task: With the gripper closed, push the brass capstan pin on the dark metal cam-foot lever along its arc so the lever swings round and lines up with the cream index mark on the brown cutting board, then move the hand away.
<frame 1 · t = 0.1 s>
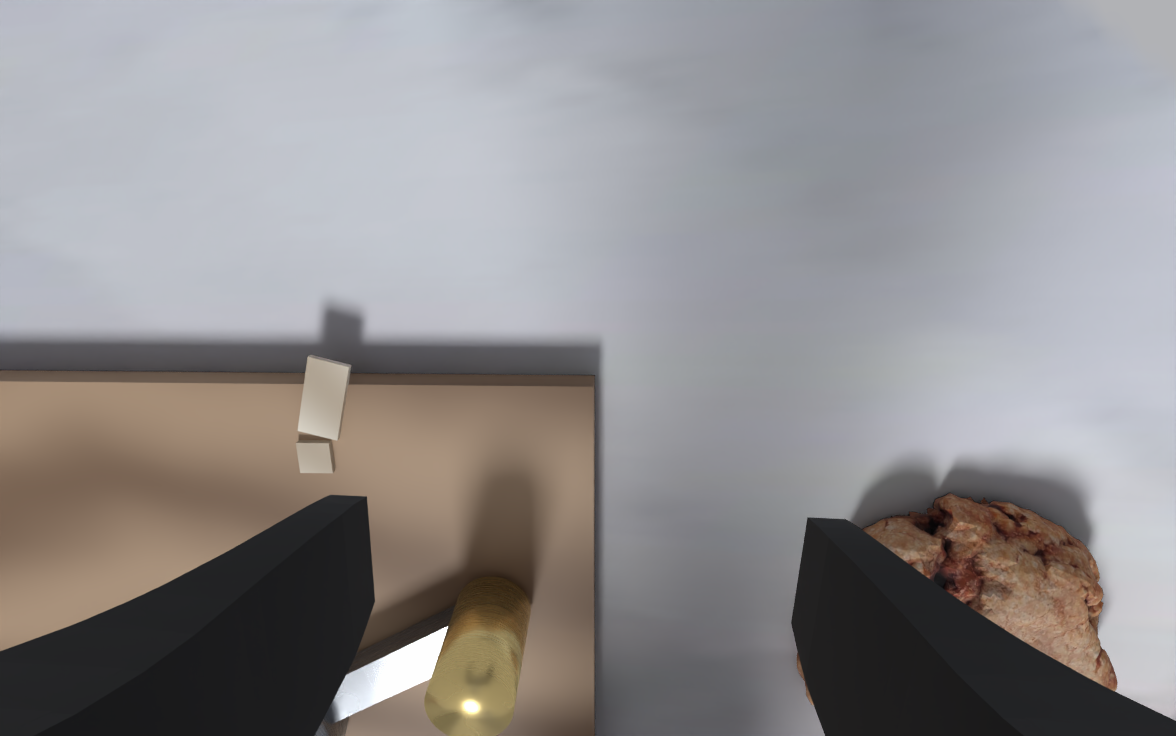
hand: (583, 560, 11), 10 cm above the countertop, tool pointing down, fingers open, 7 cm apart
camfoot: (342, 717, 21), point 3 cm above the countertop, hinge at -45.0°
brown cutting board: (292, 683, 25), on the countertop
cookie: (941, 618, 24), on the countertop
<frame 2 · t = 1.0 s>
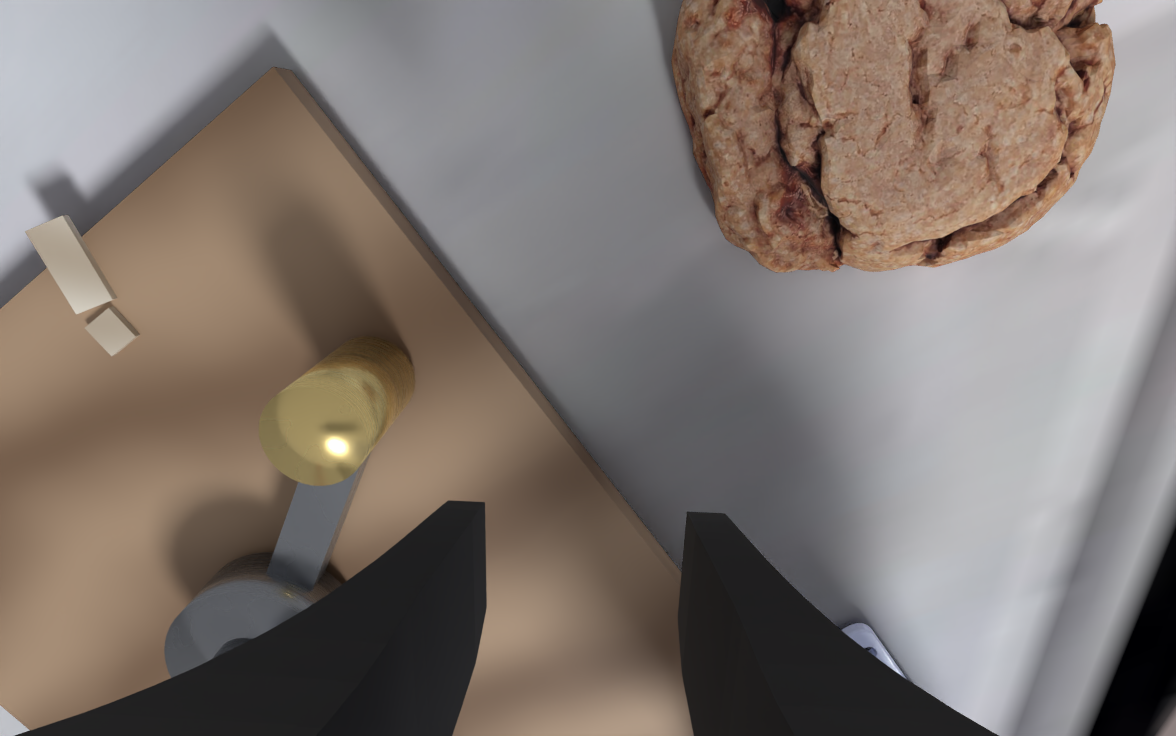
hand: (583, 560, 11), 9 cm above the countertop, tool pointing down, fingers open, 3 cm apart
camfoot: (287, 563, 19), point 3 cm above the countertop, hinge at -45.0°
brown cutting board: (299, 594, 23), on the countertop
cookie: (868, 84, 18), on the countertop
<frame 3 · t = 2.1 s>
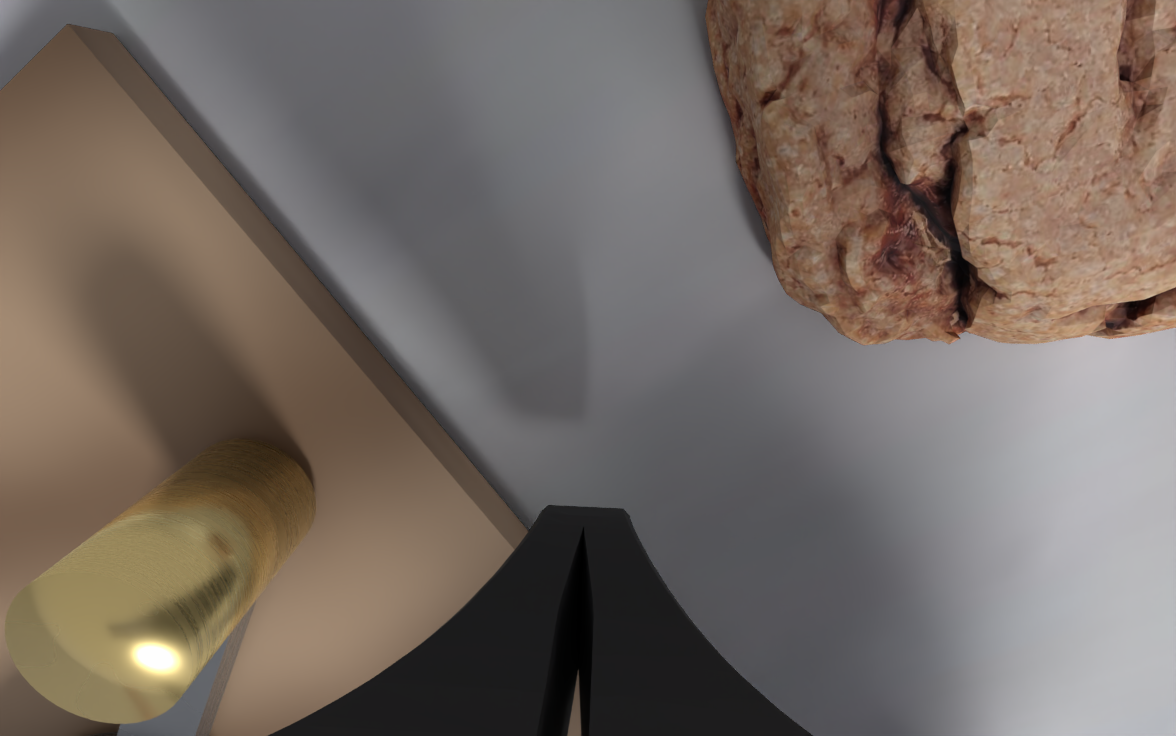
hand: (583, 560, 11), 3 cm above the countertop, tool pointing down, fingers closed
cookie: (1007, 55, 12), on the countertop
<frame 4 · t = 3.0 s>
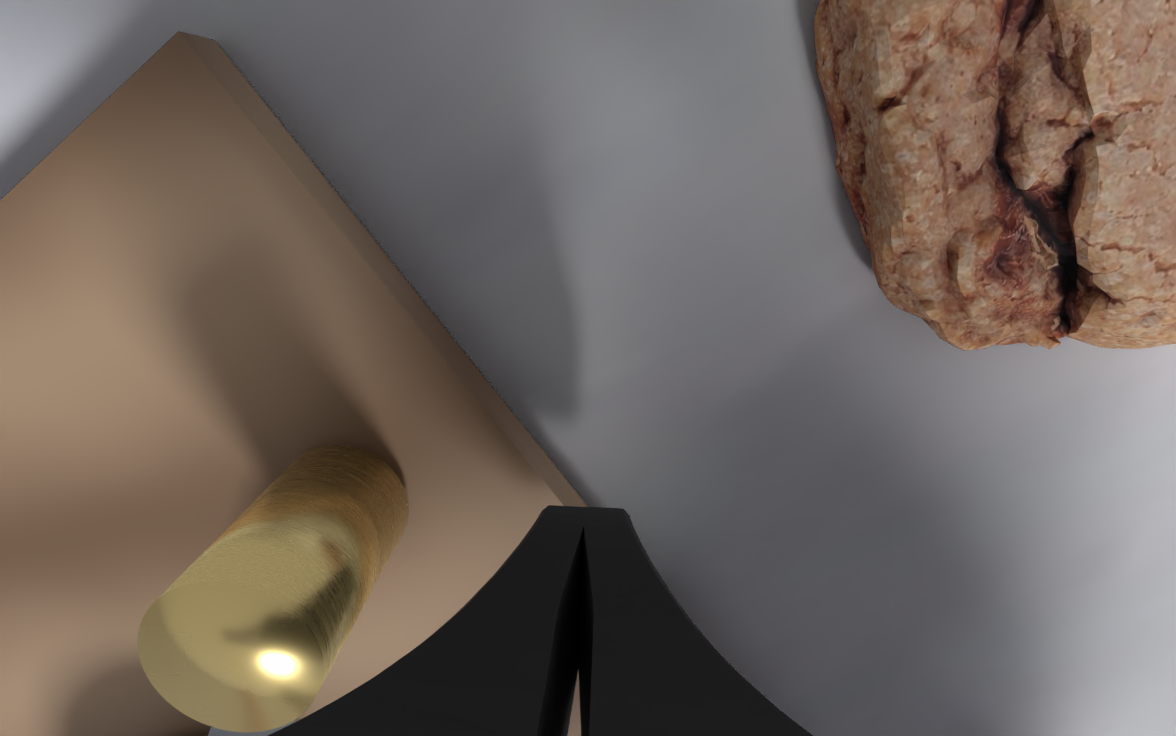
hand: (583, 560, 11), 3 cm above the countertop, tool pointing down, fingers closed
cookie: (1110, 59, 12), on the countertop
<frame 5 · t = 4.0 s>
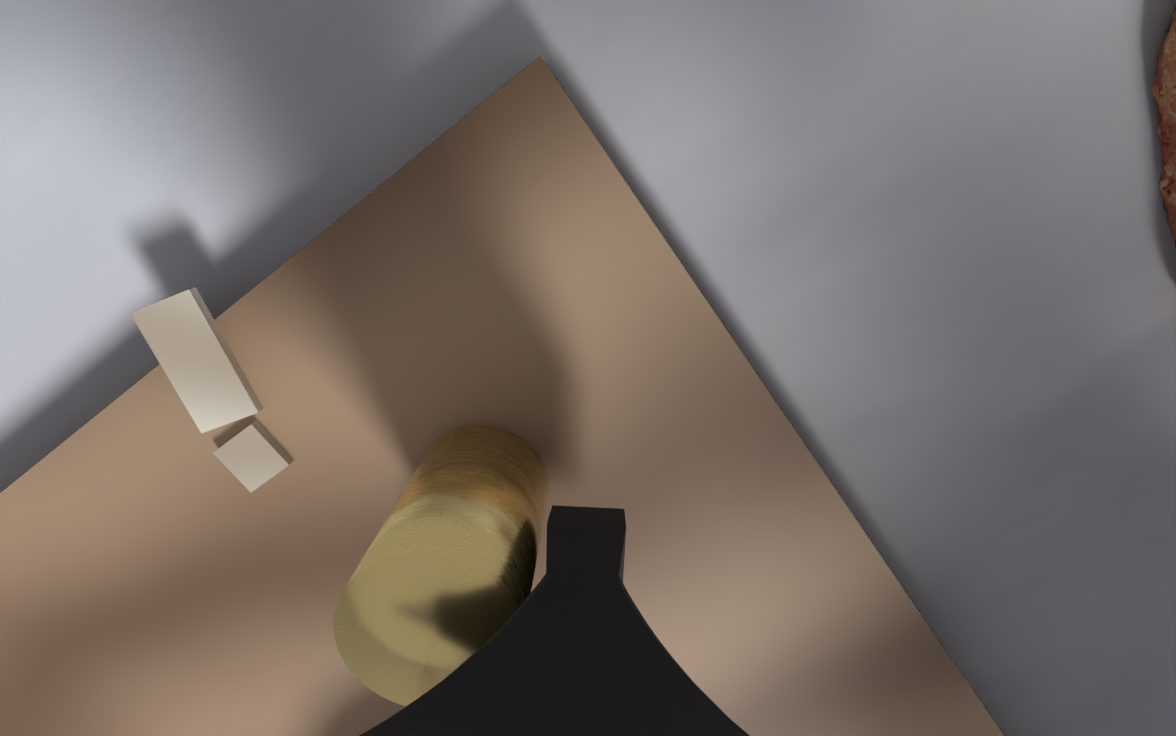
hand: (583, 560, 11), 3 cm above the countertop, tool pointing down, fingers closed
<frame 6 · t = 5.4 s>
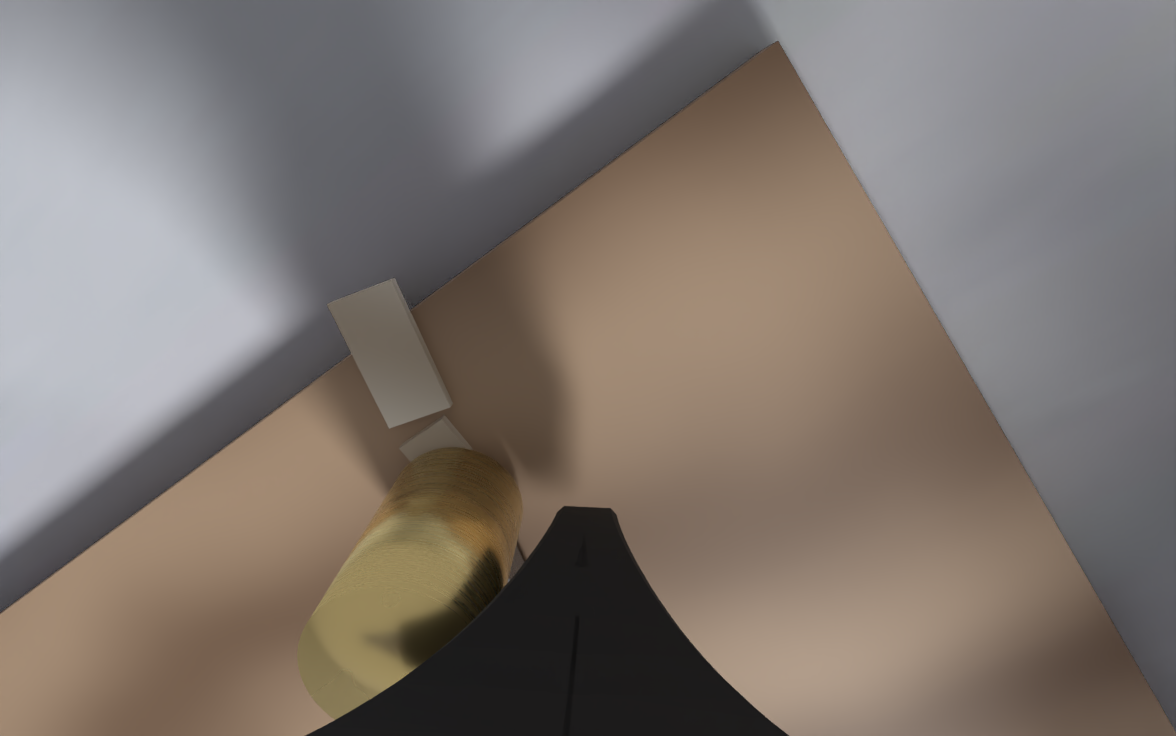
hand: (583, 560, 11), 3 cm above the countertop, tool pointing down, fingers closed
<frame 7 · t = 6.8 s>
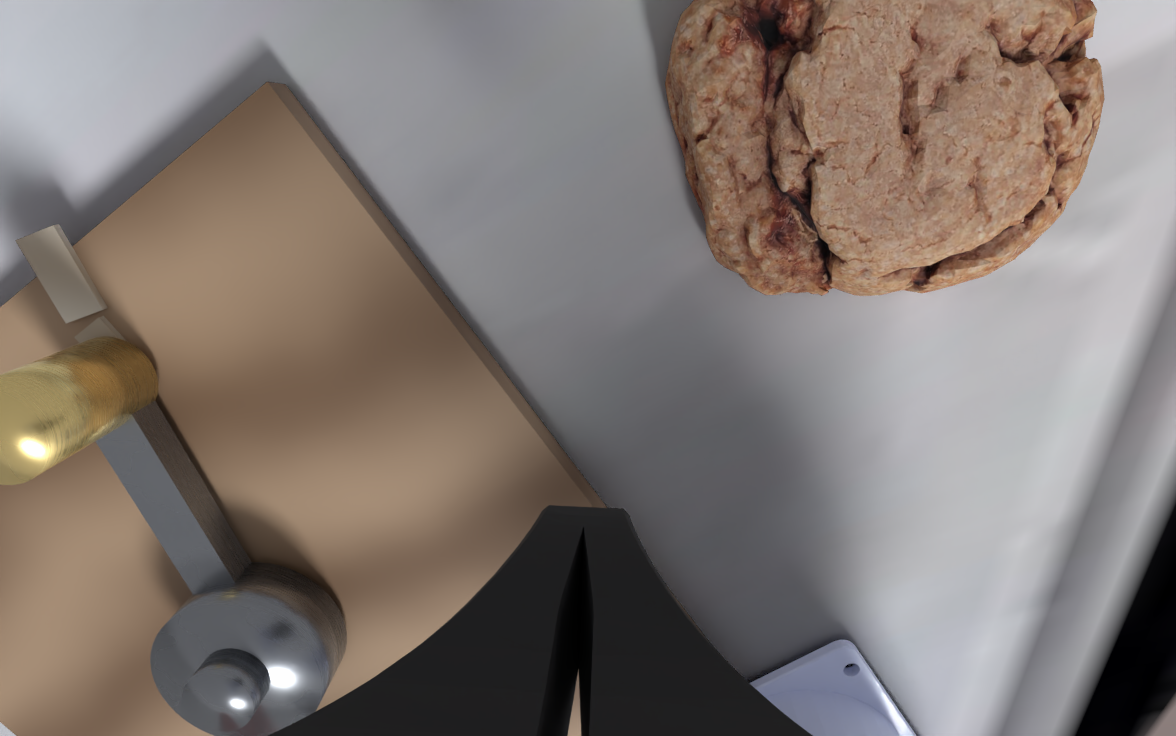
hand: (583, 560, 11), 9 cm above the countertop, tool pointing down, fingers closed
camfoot: (167, 569, 19), point 3 cm above the countertop, hinge at 0.4°
brown cutting board: (287, 602, 23), on the countertop
cookie: (860, 110, 18), on the countertop
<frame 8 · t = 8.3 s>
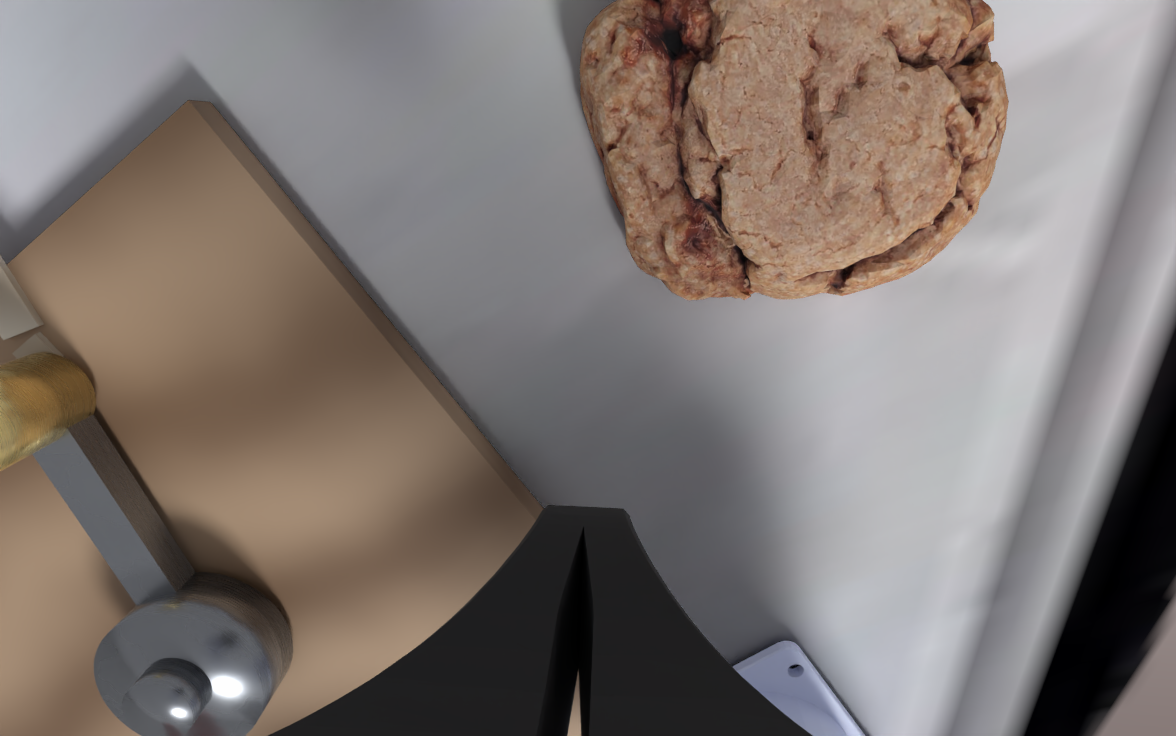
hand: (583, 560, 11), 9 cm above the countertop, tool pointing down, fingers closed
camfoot: (105, 580, 19), point 3 cm above the countertop, hinge at 0.4°
brown cutting board: (236, 611, 23), on the countertop
cookie: (778, 115, 18), on the countertop
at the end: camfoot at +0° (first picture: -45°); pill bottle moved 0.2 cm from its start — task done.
